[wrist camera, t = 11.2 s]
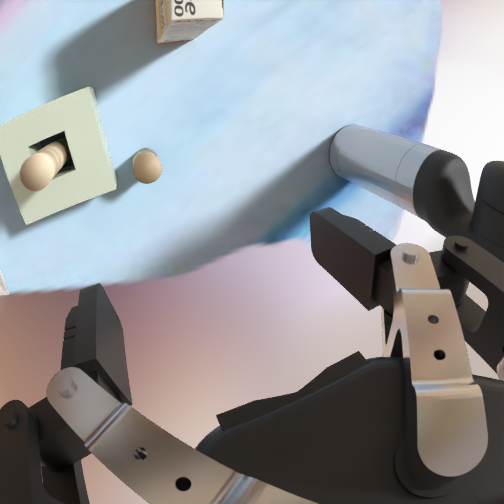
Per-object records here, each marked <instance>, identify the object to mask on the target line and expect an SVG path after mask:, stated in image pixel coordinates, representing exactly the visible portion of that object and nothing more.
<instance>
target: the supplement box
mask: <svg viewBox="0 0 504 504" xmlns="http://www.w3.org/2000/svg"><path fill="white" fill-rule="evenodd" d="M155 6H156V22H157V44H158V43H166V42H173V41H182V40H193V39H195V38H196V37H197V36H199V35H200V34H202V33H203V32H204V31H206V30H207V29H208V28H210V27H211V26H213V25H214V24H216V23H217V22H219V21H220V20H222V19H223V18H224V3H223V0H155Z"/></svg>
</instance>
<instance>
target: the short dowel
mask: <svg viewBox="0 0 504 504" xmlns="http://www.w3.org/2000/svg"><path fill="white" fill-rule="evenodd" d="M132 162H133V172H134V176H135V178H136V179H137V180H138V181H139V182H141V183H145V184H148V183H152V182H154V181H156V180H157V179H158V178H159V176H160V175H161V172H162V166H161V163H160V161H159V159H158V157H157V155H156V154H155V152H154V151H153V150H151V149H147V148H145V149H141V150H139V151H137V152H136V153H135V155H134V157H133V161H132Z"/></svg>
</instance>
